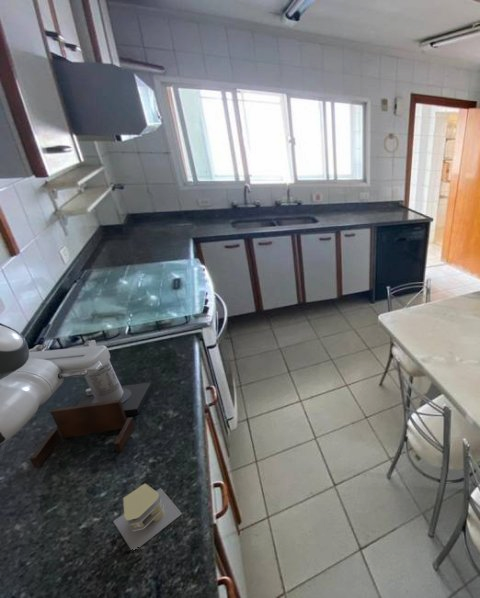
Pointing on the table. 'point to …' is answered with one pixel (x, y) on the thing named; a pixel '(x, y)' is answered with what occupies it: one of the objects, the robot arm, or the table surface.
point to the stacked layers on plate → (145, 515)
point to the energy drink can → (105, 384)
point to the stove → (125, 397)
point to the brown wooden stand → (86, 425)
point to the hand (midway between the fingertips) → (68, 344)
